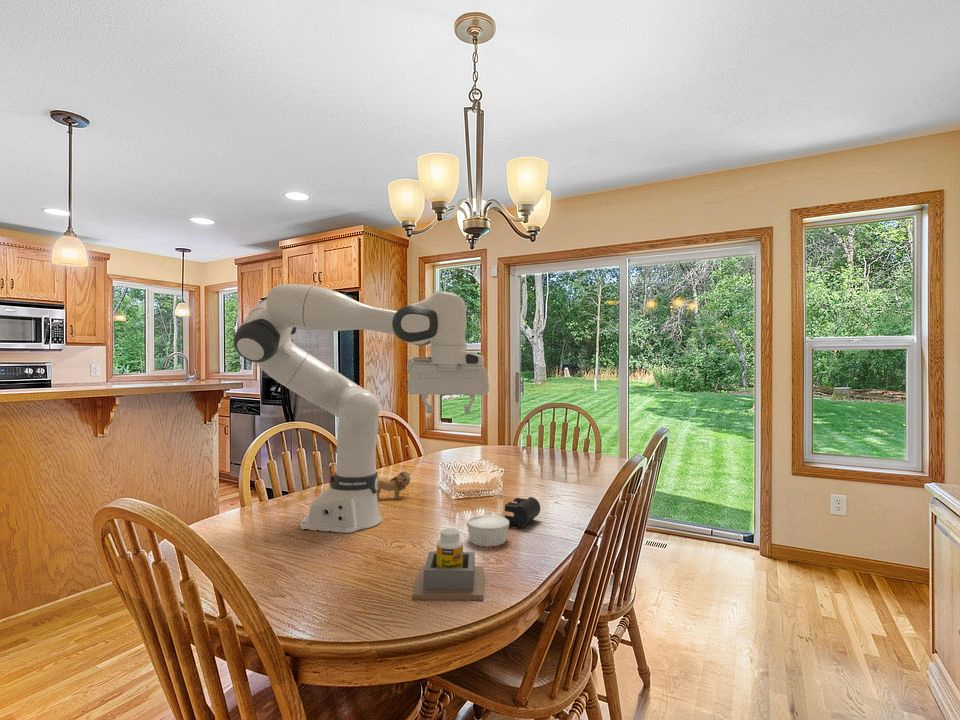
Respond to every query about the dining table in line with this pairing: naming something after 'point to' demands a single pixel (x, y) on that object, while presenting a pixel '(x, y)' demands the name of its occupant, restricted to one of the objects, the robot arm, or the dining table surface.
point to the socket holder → (450, 580)
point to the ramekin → (488, 530)
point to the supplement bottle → (450, 549)
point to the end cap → (522, 511)
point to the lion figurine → (394, 484)
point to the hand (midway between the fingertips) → (448, 412)
